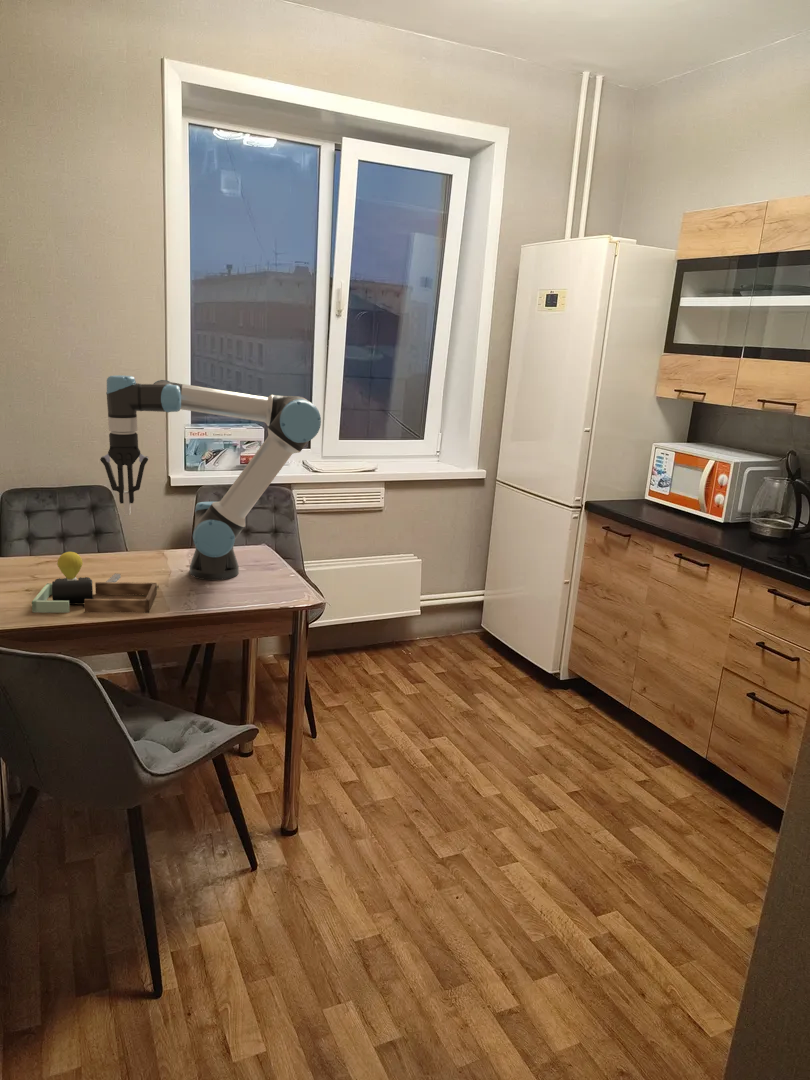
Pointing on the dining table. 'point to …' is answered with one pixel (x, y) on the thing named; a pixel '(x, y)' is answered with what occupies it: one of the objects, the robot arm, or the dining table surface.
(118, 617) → the dining table surface
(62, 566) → the light bulb
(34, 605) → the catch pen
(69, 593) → the end cap
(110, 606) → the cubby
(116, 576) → the grey metal bar
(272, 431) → the robot arm
